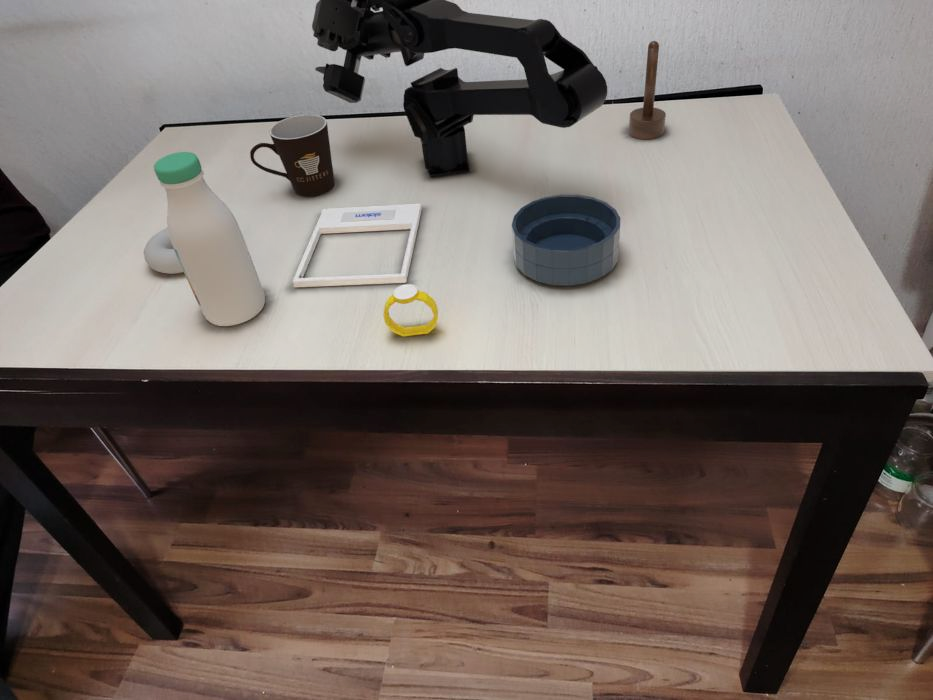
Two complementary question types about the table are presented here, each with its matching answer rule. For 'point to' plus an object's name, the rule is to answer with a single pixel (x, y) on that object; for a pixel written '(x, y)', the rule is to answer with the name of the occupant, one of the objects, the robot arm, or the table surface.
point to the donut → (162, 254)
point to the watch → (405, 296)
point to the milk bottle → (208, 243)
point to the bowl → (566, 239)
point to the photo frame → (359, 222)
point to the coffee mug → (302, 154)
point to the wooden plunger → (648, 103)
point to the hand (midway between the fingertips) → (323, 42)
